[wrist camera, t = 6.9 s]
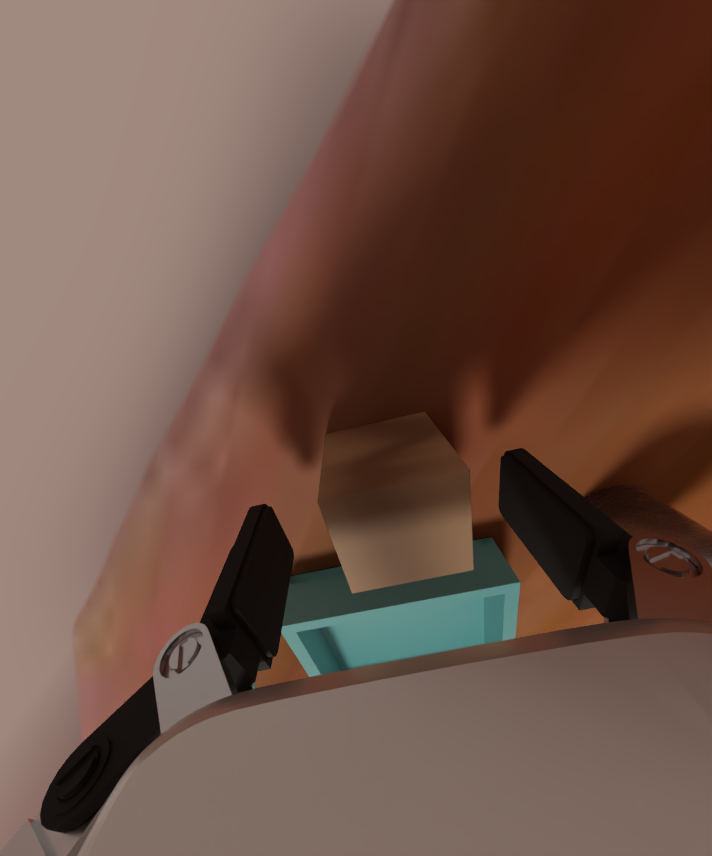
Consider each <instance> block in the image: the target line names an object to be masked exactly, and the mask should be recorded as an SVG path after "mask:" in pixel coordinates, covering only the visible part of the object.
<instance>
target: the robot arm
mask: <svg viewBox="0 0 712 856" xmlns="http://www.w3.org/2000/svg"><path fill="white" fill-rule="evenodd" d="M499 510H500V512H501V514H502V516H503V517H504V519H505V520H506V521H507V522H508V524H509V525H510V526H511V528H512V529H513V530H514V532H515V533H516V534H517V536H518V537H519V538H520V540H521V541H522V542H523V544H524V545H525V546H526V548H527V549H528V550H529V552H530V553H531V554H532V556H533V557H534V558H535V560H536V561H537V562H538V564H539V565H540V566H541V567H542V569H543V570H544V571H545V573H546V574H547V575H548V577H549V578H550V579H551V581H552V582H553V583H554V585H555V586H556V587H557V589H558V590H559V591H560V593H561V594H562V595H563V596H564V597H565V598H566V599H567V600H572V601H573V603H574V604H575V605H576V607H577V608H578V609H579V610H583V609H589V608H594V607H595V608H596V609H597V610H598V611H599V613H600V614H601V615H602V616H603V617H604V623H602V624H596V625H590V626H583V627H577V628H571V629H565V630H559V631H553V632H548V633H542V634H537V635H531V636H526V637H520V638H515V639H509V640H503V641H498V642H492V643H487V644H481V645H476V646H471V647H465V648H460V649H454V650H449V651H444V652H438V653H433V654H428V655H422V656H417V657H412V658H406V659H401V660H396V661H390V662H385V663H380V664H374V665H369V666H364V667H359V668H354V669H349V670H343V671H338V672H333V673H328V674H323V675H317V676H312V677H307V678H302V679H297V680H293V681H288V682H283V683H279V684H274V685H269V686H265V687H260V688H256V686H255V684H254V682H255V680H256V676H257V671H262V670H267V669H271V664H272V659H273V657H275V656H276V655H277V652H278V648H279V642H280V636H281V630H282V624H283V618H284V613H285V607H286V601H287V595H288V589H289V583H290V577H291V571H292V565H293V559H294V553H293V549H292V547H291V545H290V543H289V541H288V539H287V537H286V535H285V533H284V531H283V529H282V527H281V525H280V523H279V521H278V519H277V517H276V515H275V513H274V511H273V509H272V507H270V506H269V507H268V506H267V505H266V504H262V505H257V506H252V507H250V509H249V511H248V513H247V515H246V518H245V520H244V522H243V525H242V527H241V530H240V532H239V534H238V537H237V539H236V542H235V544H234V546H233V547H232V549H231V551H230V553H229V555H228V557H227V560H226V562H225V565H224V567H223V569H222V572H221V574H220V576H219V579H218V581H217V583H216V586H215V588H214V590H213V593H212V595H211V598H210V600H209V602H208V605H207V607H206V609H205V612H204V614H203V616H202V619H201V621H200V623H193V624H190V625H188V626H186V627H184V628H183V629H181V630H180V631H178V632H177V633H176V634H175V635H174V636H173V637H172V638H171V639H170V640H169V641H168V642H167V643H166V645H165V646H164V647H163V648H162V650H161V652H160V654H159V655H158V657H157V659H156V662H155V665H154V668H153V677H152V678H150V679H149V680H148V681H147V682H146V683H145V684H144V685H143V686H142V687H141V688H140V689H139V690H138V691H137V692H136V693H135V694H133V695H132V696H131V697H130V698H129V699H128V700H127V701H126V702H125V703H124V704H123V705H122V706H121V707H120V708H119V709H117V710H116V711H115V712H114V713H113V714H112V715H111V716H110V717H109V718H108V719H107V720H106V721H105V722H104V723H103V724H101V725H100V726H99V727H98V728H97V729H96V730H95V731H94V732H93V733H92V734H91V735H90V736H89V737H88V738H87V739H86V740H84V741H83V742H82V743H81V744H80V745H79V746H78V748H77V749H76V750H75V751H74V752H73V753H72V754H71V755H70V756H69V758H68V759H67V760H66V761H65V763H64V764H63V765H62V767H61V768H60V769H59V771H58V772H57V774H56V776H55V778H54V779H53V781H52V783H51V784H50V786H49V789H48V791H47V793H46V796H45V798H44V800H43V803H42V808H41V811H40V812H39V814H38V815H37V816H36V817H35V819H34V820H32V819H27V820H26V821H25V822H24V824H23V825H22V826H21V827H20V829H19V830H18V831H17V832H16V833H15V834H14V836H13V837H12V839H10V841H9V842H8V843H7V844H6V845H5V847H4V848H3V849H2V850H1V851H0V856H712V567H711V566H710V564H709V563H708V561H707V560H706V559H705V558H704V557H703V556H701V555H700V554H699V553H698V552H696V551H695V550H693V549H692V548H690V547H689V546H687V545H685V544H683V543H681V542H679V541H676V540H674V539H671V538H668V537H665V536H661V535H655V534H639V535H636V536H633V537H632V536H631V535H630V534H629V533H627V532H626V531H625V530H624V529H622V528H621V527H620V526H619V525H617V524H616V523H615V522H614V521H613V520H611V519H610V518H609V517H608V516H606V515H605V514H604V513H603V512H601V511H600V510H599V509H598V508H597V507H595V506H594V505H593V504H592V503H590V502H589V501H588V500H587V499H585V498H584V497H583V496H582V495H580V494H579V493H578V492H577V491H576V490H574V489H573V488H572V487H571V486H569V485H568V484H567V483H566V482H564V481H563V480H562V479H560V478H559V477H558V476H557V475H555V474H554V473H553V472H552V471H551V470H549V469H548V468H547V467H546V466H544V465H543V464H542V463H541V462H539V461H538V460H537V459H536V458H535V457H533V456H532V455H531V454H530V453H528V452H527V451H526V450H525V449H523V448H519V449H515V450H510V451H506V452H505V454H504V456H502V457H501V465H500V489H499Z"/></svg>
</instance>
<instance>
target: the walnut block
mask: <svg viewBox="0 0 712 856" xmlns="http://www.w3.org/2000/svg"><path fill="white" fill-rule="evenodd" d="M317 502H318V505H319V507H320V510H321V513H322V515H323V518H324V521H325V523H326V526H327V529H328V531H329V534H330V536H331V539H332V542H333V544H334V547H335V550H336V552H337V555H338V558H339V560H340V563H341V565H342V568H343V571H344V573H345V576H346V579H347V581H348V584H349V587H350V589H351V592H352V594H353V593H358V592H363V591H368V590H373V589H378V588H384V587H389V586H394V585H399V584H404V583H409V582H414V581H420V580H425V579H430V578H435V577H440V576H445V575H451V574H456V573H461V572H466V571H471V570H474V567H473V541H472V516H471V491H470V469H469V468H468V467H467V465H466V464H465V463H464V462H463V460H462V459H461V458H460V456H459V455H458V454H457V453H456V451H455V450H454V449H453V447H452V446H451V445H450V443H449V442H448V441H447V440H446V438H445V437H444V436H443V434H442V433H441V432H440V430H439V429H438V428H437V427H436V425H435V424H434V423H433V421H432V420H431V419H430V418H429V416H428V415H427V414H426V412H420V413H416V414H412V415H407V416H403V417H398V418H394V419H389V420H385V421H381V422H376V423H372V424H367V425H363V426H359V427H354V428H350V429H345V430H341V431H337V432H332V433H328V434H326V435H325V443H324V451H323V460H322V468H321V476H320V485H319V493H318V501H317Z"/></svg>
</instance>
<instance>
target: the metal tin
mask: <svg viewBox="0 0 712 856" xmlns="http://www.w3.org/2000/svg"><path fill="white" fill-rule="evenodd" d="M585 499H587V500H588V501H589V502H590V503H592V504H593V505H594V506H595V507H597V508H598V509H599V510H600V511H601V512H603V513H604V514H605V515H606V516H608V517H609V518H610V519H611V520H613V521H614V522H615V523H616V524H617V525H619V526H620V527H621V528H622V529H624V530H625V531H626V532H627V533H629V534H630V535H631V536H632V537H633V536H636V535H639V534H655V535H661V536H665V537H668V538H671V539H674V540H676V541H679V542H681V543H683V544H685V545H687V546H689V547H690V548H692V549H693V550H695V551H696V552H698V553H699V554H700V555H701V556H703V557H704V558H705V559H706V560H707V561H708V563H709V564H710V566H711V567H712V532H711V531H710V530H708V529H707V528H705V527H703V526H702V525H700V524H699V523H697V522H695V521H694V520H692V519H690V518H689V517H687V516H686V515H684V514H682V513H681V512H679V511H678V510H676V509H674V508H673V507H671V506H669V505H668V504H666V503H665V502H663V501H661V500H660V499H658V498H657V497H655V496H653V495H652V494H650V493H648V492H647V491H645V490H643V489H642V488H639V487H635V486H627V485H625V486H615V487H610V488H606V489H603V490H600V491H598V492H595V493H593V494H591V495H589V496H587V497H585Z"/></svg>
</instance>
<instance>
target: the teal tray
mask: <svg viewBox="0 0 712 856" xmlns="http://www.w3.org/2000/svg"><path fill="white" fill-rule="evenodd" d="M473 567H474V570H471V571H466V572H461V573H456V574H451V575H445V576H440V577H435V578H430V579H425V580H420V581H414V582H409V583H404V584H399V585H394V586H389V587H384V588H378V589H373V590H368V591H363V592H358V593H353V594H352V592H351V589H350V587H349V584H348V581H347V579H346V576H345V573H344V571H343V568H342V566H340V567H335V568H330V569H325V570H320V571H315V572H310V573H304V574H299V575H294V576H291V577H290V583H289V589H288V595H287V601H286V607H285V613H284V618H283V624H282V630H281V633H282V635H283V636H284V638H285V639H286V641H287V643H288V644H289V646H290V647H291V649H292V650H293V652H294V653H295V655H296V657H297V658H298V660H299V661H300V663H301V664H302V666H303V668H304V669H305V671H306V672H307V674H308V675H309V677H312V676H317V675H323V674H328V673H333V672H338V671H343V670H349V669H354V668H359V667H364V666H369V665H374V664H380V663H385V662H390V661H396V660H401V659H406V658H412V657H417V656H422V655H428V654H433V653H438V652H444V651H449V650H454V649H460V648H465V647H471V646H476V645H481V644H487V643H492V642H498V641H503V640H509V639H515V634H516V623H517V613H518V602H519V591H520V581H519V579H518V578H517V576H516V575H515V573H514V571H513V570H512V568H511V567H510V565H509V564H508V562H507V560H506V559H505V557H504V556H503V554H502V553H501V551H500V550H499V548H498V546H497V545H496V543H495V542H494V540H493V539H492V537H489V538H483V539H478V540H473Z"/></svg>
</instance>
